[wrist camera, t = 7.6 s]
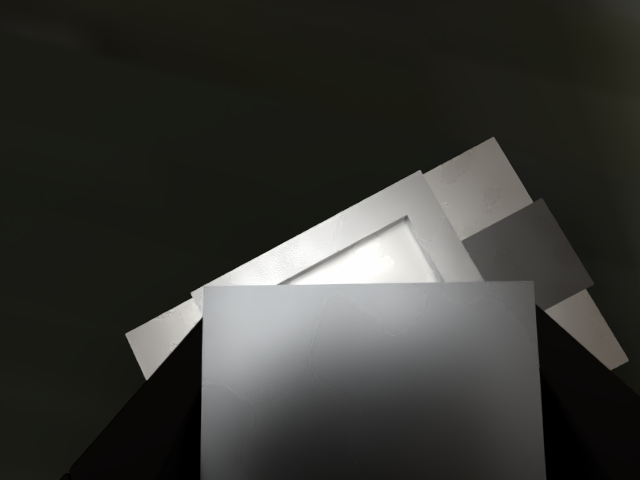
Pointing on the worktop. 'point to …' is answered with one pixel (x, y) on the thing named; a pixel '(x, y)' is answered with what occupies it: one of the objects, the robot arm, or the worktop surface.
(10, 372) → the worktop surface
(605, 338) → the grey tray
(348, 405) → the grey rectangular block
